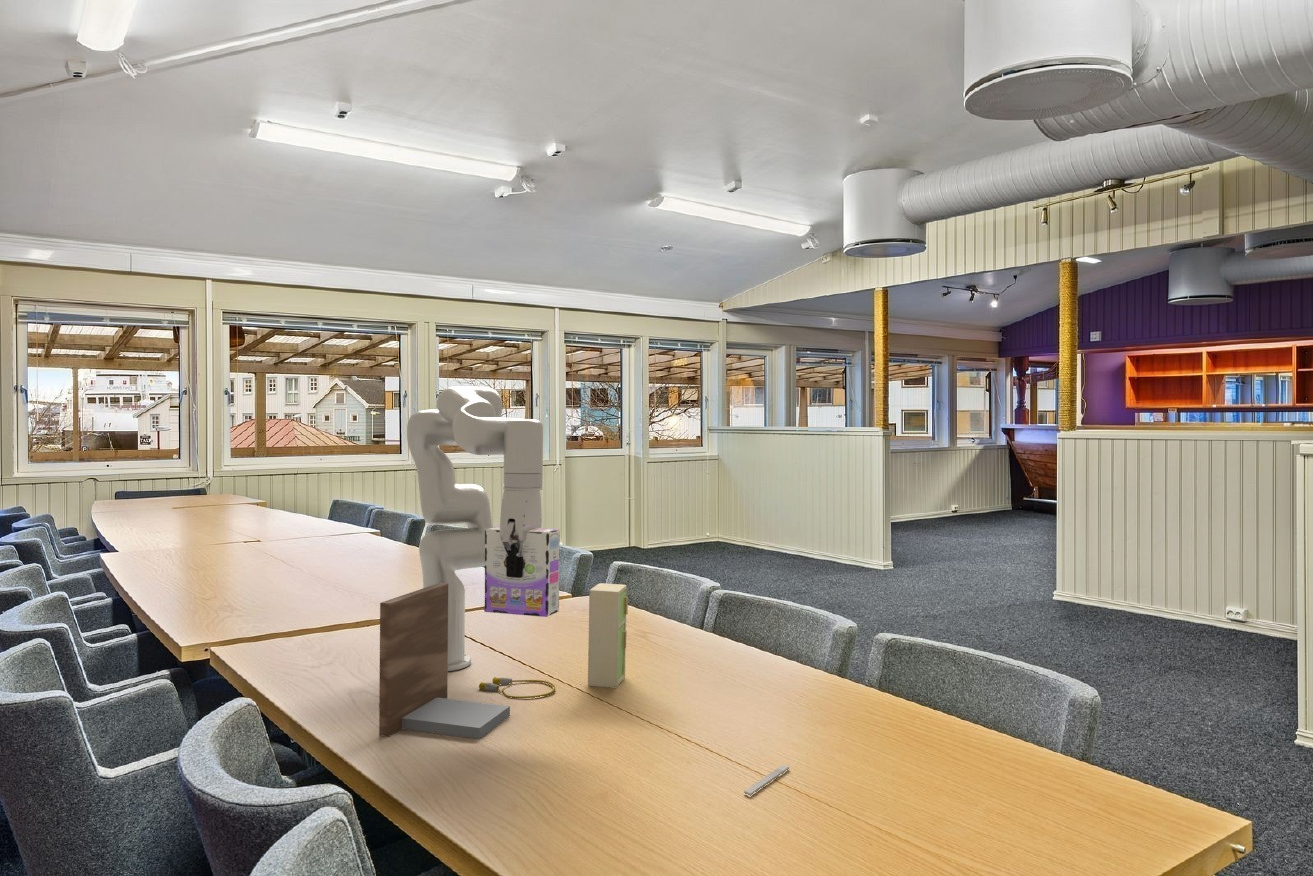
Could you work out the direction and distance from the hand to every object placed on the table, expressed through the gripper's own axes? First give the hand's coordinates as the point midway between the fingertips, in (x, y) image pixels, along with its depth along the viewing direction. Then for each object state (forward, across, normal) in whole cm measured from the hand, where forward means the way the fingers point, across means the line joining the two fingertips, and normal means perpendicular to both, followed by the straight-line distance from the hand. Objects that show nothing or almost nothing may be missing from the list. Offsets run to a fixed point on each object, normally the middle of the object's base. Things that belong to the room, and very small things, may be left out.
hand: (521, 573), depth 158 cm
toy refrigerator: (+28, -23, +10) cm, 38 cm away
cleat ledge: (+27, +8, -9) cm, 30 cm away
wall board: (+27, +8, -18) cm, 34 cm away
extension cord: (+28, -13, -6) cm, 32 cm away
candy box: (+8, 0, 0) cm, 8 cm away
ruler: (+28, +18, +51) cm, 60 cm away
